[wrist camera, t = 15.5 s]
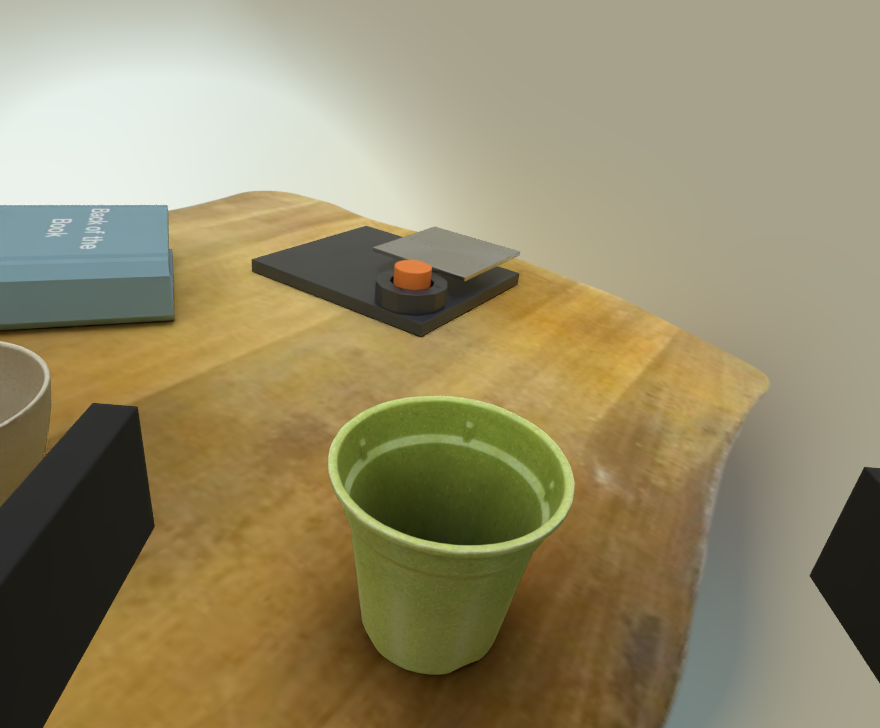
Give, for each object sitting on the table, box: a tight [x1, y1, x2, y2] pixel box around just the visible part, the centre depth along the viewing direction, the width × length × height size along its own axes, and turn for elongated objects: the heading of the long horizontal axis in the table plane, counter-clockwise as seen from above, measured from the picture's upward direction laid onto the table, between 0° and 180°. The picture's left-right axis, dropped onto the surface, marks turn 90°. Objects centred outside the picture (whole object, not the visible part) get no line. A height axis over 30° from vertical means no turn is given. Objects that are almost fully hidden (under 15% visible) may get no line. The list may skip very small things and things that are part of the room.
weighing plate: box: [373, 227, 520, 281], centre depth 64 cm, size 10×10×1 cm
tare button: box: [393, 260, 432, 290], centre depth 56 cm, size 3×3×2 cm
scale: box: [252, 226, 519, 337], centre depth 64 cm, size 20×17×3 cm
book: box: [0, 205, 174, 330], centre depth 53 cm, size 23×16×5 cm
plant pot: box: [328, 396, 574, 675], centre depth 27 cm, size 9×9×9 cm
